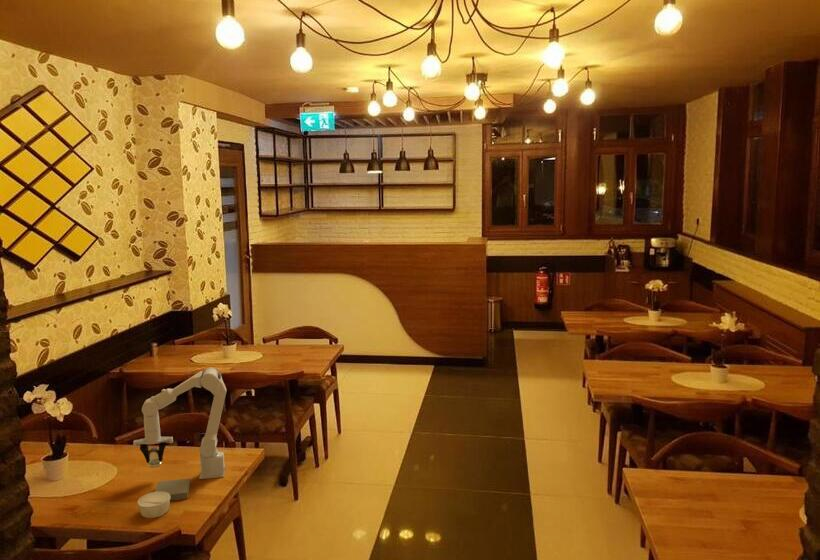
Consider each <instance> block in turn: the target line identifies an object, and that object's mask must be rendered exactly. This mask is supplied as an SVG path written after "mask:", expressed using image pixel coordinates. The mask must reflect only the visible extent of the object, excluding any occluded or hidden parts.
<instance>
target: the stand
mask: <svg viewBox="0 0 820 560" xmlns="http://www.w3.org/2000/svg"><path fill="white" fill-rule="evenodd" d="M191 484H192V482H191V478H190V477H189V478H180V479H172V480H163V481H161V480H160V481H157V484H156V487H155V490H154V492H158V491H162V492H167V493H169V494H170V502H171V501H179V500H180V499H181V500H187V499H189V498H188V497H189V494H190V490H189V489H191ZM188 493H189V494H188Z"/></svg>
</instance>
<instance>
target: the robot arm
mask: <svg viewBox="0 0 820 560" xmlns="http://www.w3.org/2000/svg"><path fill="white" fill-rule="evenodd" d="M194 387H195V388H200V389H201V388H202V387H203V388H204V389H205V390H207V391H209V392H211V394H212V395H213V400H212V405H211V408H210V413H209V417H208V420H207V421H208V422H207V425H206V426H207V427H206V431H205V434H204V435H203V437H202V438H201V444H200V447H199V460H200V474H199V477H198V478H199V480H207V479H215V478H224V477H225V470H226V464H225V454H224V451H222V452H221V451H219V450H218V449H217V445H218V437H217V436H218V431H219V426H220V422H221V418H222V414H223V409H224V404H225V400H226V396H227V395H226V394H227V387H226V384H225V382H224V380H223V377H222V373H220V372H219V371H218V369H217V368H215V367H211V366H210V367H207V368H205V369H204V370H201V371H199V372H197V373H196V374H193V376H190V377H189V378H188V379H186V380H184V381H182V382H181V383H180V384H179V385H177V386H175V387H174V388H166V389H165V388H163V389H161V392H159V393H158V394H156V395H152V396H150V398H147V399H145V401H144V403H143V404H142V406H141V413H142V414H143V427H144V438H140V439H134V440H133V442H132V443H133V444H132V445H133V447H138V446H139V450H140V452H141V453H142V455H143V456H144V458H145V461H146V463H147V464H148V463H149V457H148V450H149V445H155V444H156V445H158V444H159V445H158V448H159V452H160V461H162V462H163V459H164V452H165V448H166V446H167V444H168V443H169V444H172V443H174V438H173V436H161V427H160V414H159V410H162V409H163V408H166V407H167V406H169V405H171V404H173V403H174V402H175V401H177V397H178V396H180V395H182V394H183V393H185V392H187V391H189V390H191V389H193V388H194Z"/></svg>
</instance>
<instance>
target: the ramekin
mask: <svg viewBox="0 0 820 560" xmlns="http://www.w3.org/2000/svg"><path fill="white" fill-rule="evenodd" d="M136 503H137V507H138V510H139V513H140V515H141V516H142V518H147V519H155V518H160V517H162V516H164V515H165V514H166V513H168V511H169V509H170V503H171V501H170V494H169V493H167V492H162V491H158V492H155V491H153V492H148V493H146V494H144V495H142V496H141V497H140V498H138V500H137V502H136Z"/></svg>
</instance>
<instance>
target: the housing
mask: <svg viewBox="0 0 820 560" xmlns="http://www.w3.org/2000/svg"><path fill="white" fill-rule="evenodd" d="M148 457H149V463H147V466H148V468H158V467H160V466H162V464H163V460H162V461H160V452H159V447H152V448H150V449H148Z"/></svg>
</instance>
